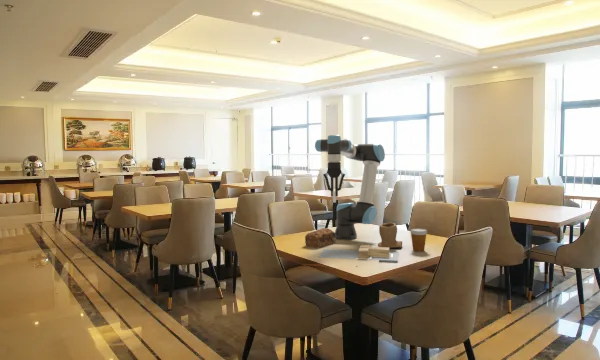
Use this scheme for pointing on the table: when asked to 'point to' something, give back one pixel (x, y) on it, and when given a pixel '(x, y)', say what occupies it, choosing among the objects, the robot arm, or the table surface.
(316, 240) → the bread
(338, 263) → the table surface
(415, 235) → the disposable coffee cup
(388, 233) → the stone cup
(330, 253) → the t board
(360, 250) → the t block
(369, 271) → the table surface
